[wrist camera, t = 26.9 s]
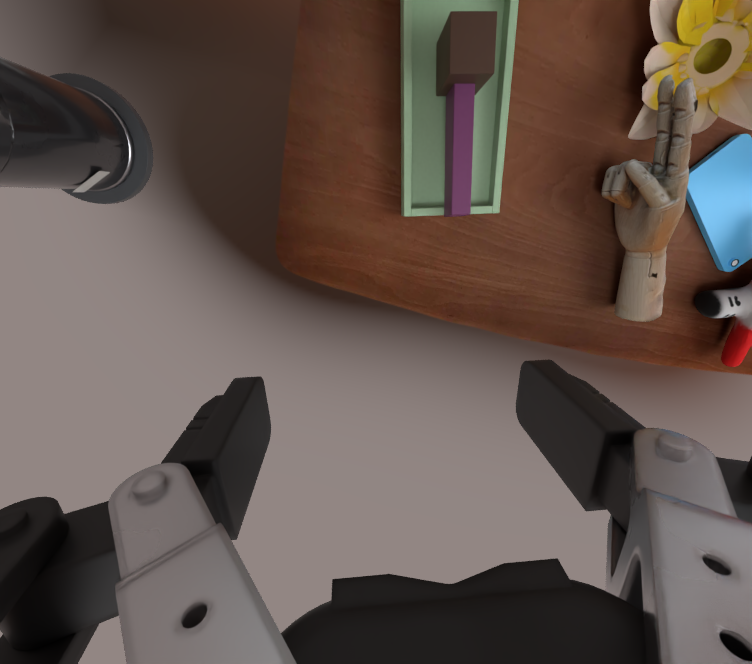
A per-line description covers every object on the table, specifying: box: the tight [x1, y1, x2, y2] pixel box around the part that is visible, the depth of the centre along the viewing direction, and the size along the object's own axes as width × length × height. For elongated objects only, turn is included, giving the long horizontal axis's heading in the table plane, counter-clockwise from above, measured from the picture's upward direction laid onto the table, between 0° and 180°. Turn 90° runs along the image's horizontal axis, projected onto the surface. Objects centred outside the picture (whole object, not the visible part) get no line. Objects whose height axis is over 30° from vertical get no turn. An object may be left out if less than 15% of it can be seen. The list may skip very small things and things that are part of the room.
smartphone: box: [686, 134, 752, 272], centre depth 41 cm, size 8×1×15 cm
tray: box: [400, 0, 519, 217], centre depth 35 cm, size 11×21×2 cm, turn 2°
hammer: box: [436, 11, 497, 217], centre depth 33 cm, size 4×16×5 cm, turn 2°
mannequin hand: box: [602, 74, 698, 322], centre depth 38 cm, size 7×7×25 cm
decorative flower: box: [628, 0, 752, 140], centre depth 31 cm, size 15×11×10 cm
